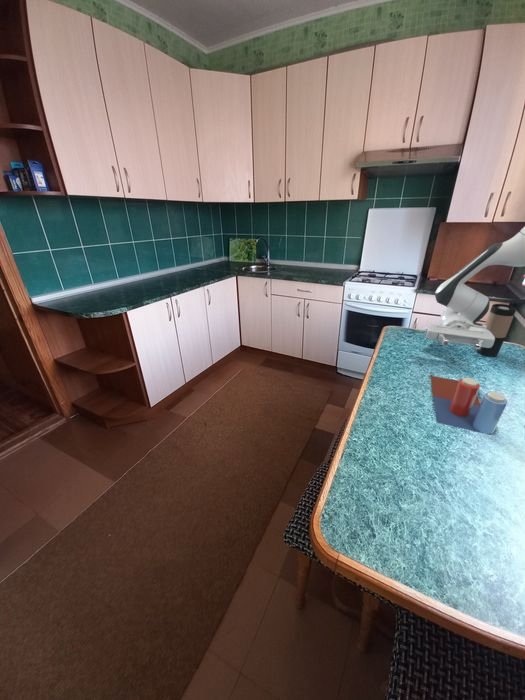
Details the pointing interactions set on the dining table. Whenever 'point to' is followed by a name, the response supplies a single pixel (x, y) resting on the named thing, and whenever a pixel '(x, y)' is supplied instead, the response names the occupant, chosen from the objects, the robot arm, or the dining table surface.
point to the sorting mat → (442, 401)
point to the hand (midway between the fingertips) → (461, 344)
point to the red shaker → (464, 397)
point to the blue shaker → (489, 412)
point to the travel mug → (497, 327)
